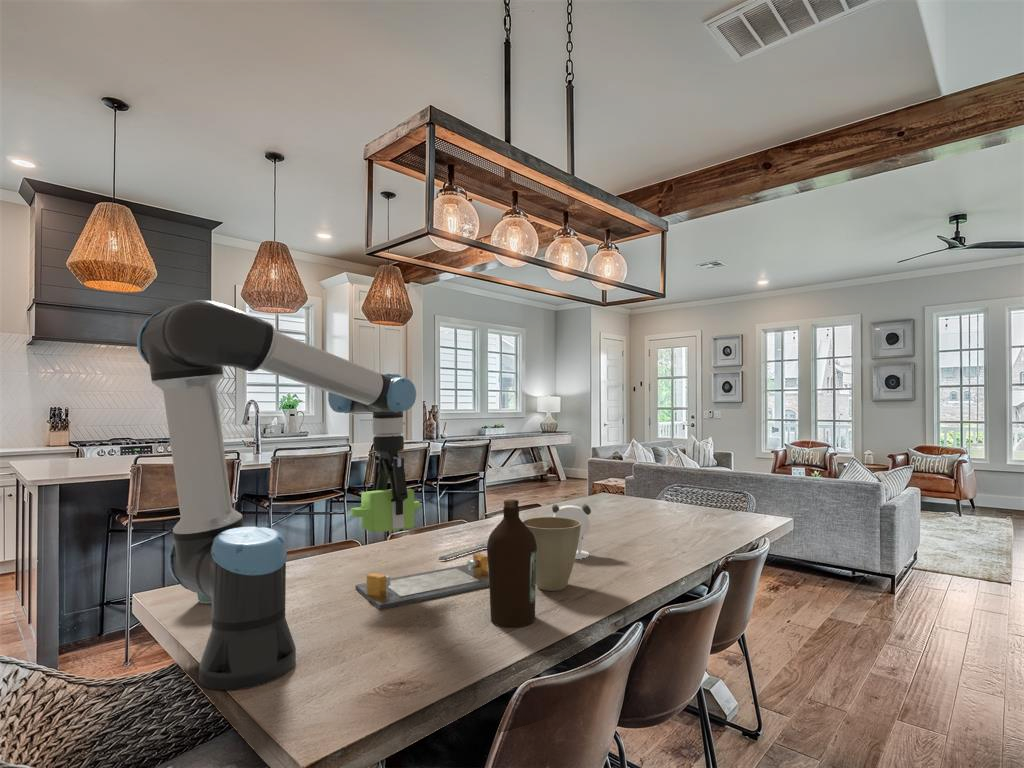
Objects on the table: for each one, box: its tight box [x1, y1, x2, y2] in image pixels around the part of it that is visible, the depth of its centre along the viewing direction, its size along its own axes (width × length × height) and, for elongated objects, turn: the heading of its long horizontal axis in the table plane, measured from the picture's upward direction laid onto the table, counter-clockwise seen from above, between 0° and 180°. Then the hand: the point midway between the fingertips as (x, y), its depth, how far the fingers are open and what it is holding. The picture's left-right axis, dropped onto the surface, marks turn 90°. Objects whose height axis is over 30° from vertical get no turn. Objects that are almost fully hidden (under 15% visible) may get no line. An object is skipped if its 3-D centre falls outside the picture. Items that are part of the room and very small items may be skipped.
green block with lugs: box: [350, 488, 422, 533], centre depth 138 cm, size 18×10×10 cm, turn 127°
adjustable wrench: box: [438, 540, 488, 561], centre depth 174 cm, size 25×6×2 cm, turn 136°
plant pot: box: [521, 516, 581, 592], centre depth 139 cm, size 15×15×16 cm
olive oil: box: [486, 498, 537, 629], centre depth 117 cm, size 11×11×25 cm
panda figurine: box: [551, 504, 592, 560], centre depth 169 cm, size 12×11×15 cm
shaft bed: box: [355, 552, 489, 610], centre depth 140 cm, size 18×33×6 cm, turn 123°
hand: (389, 524), depth 138 cm, fingers closed on green block with lugs, 10 cm apart
